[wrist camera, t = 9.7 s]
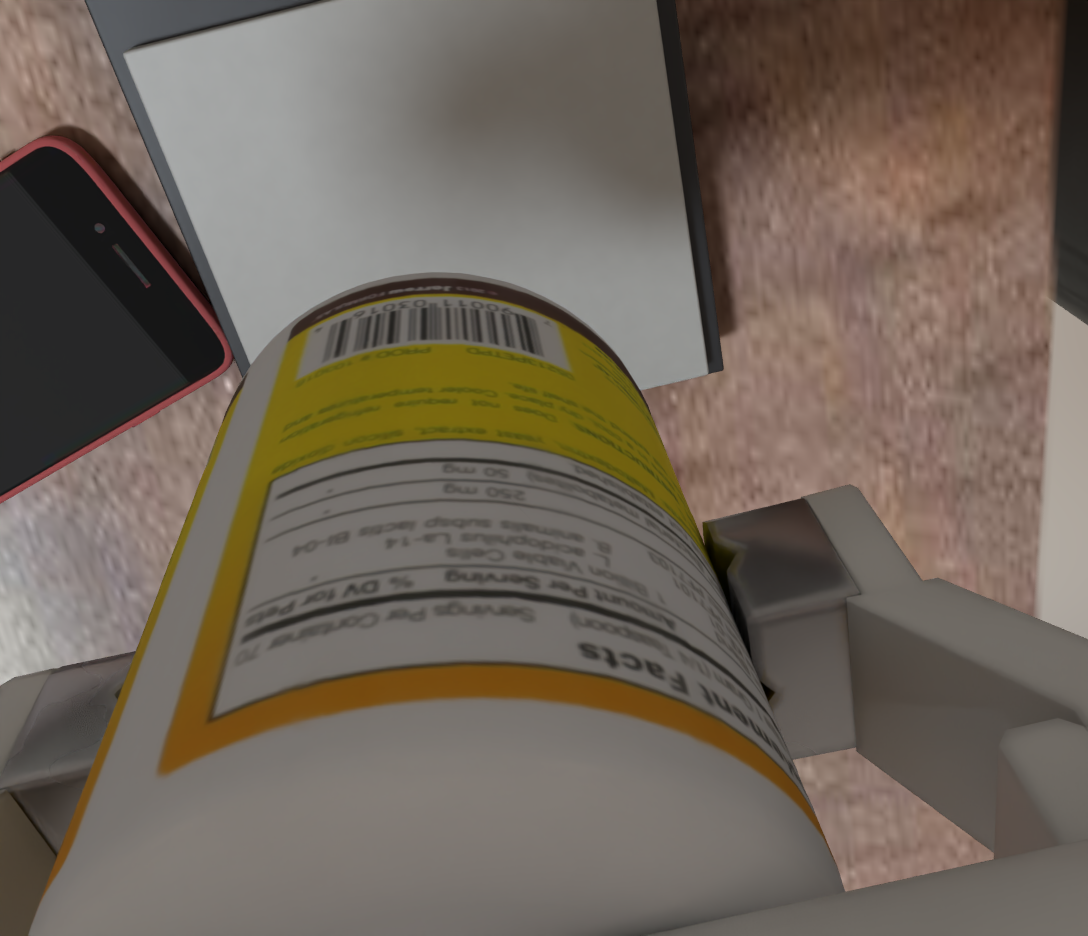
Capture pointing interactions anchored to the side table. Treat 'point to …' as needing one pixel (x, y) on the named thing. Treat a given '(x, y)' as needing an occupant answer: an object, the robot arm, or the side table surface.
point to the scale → (428, 157)
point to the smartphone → (87, 315)
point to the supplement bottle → (437, 658)
